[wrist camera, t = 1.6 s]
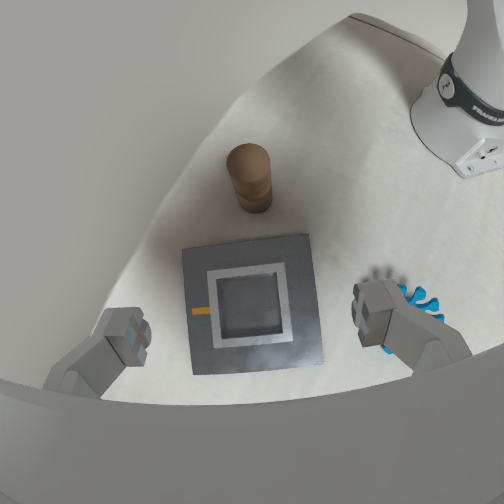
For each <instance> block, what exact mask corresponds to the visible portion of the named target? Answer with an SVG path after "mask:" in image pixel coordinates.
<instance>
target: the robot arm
mask: <svg viewBox="0 0 504 504" xmlns="http://www.w3.org/2000/svg"><path fill="white" fill-rule="evenodd" d="M467 5H468V14H467V21H466V25H465V28H464V31H463V34H462V36H461V38H460V41H459V43H458V45H457V47H456V49H455V51H454V52H452V53H451V54H450V55H449V56H448V57H447V59H446V60H445V63H444V65H443V66H442V68H441V71H440V72H439V74H438V75H437V76H436V78H435V79H434V80H433V81H432V83H431V84H430V85H429V86H426V87H425V88H424V89H423V91H422V95H421V97H420V98H419V99H418V100H417V101H416V102H415V103H414V104H413V106H412V108H411V119H412V123H413V126H414V128H415V130H416V132H417V134H418V136H419V137H420V139H421V140H422V141H423V143H424V144H425V145H426V146H427V147H428V148H429V149H430V150H431V151H432V152H433V153H434V154H435V155H437V156H438V157H439V158H441V159H442V160H444V161H446V162H447V163H449V164H450V165H451V166H452V167H453V168H454V170H455V171H456V172H457V173H458V174H459V175H460V176H461V177H462V178H469V177H473V176H476V175H479V174H483V173H486V172H489V171H493V170H496V169H499V168H503V167H504V0H467ZM468 169H469V170H468ZM353 294H354V296H355V299H354V300H353V301H352V317H353V321H354V324H355V326H356V327H358V328H359V331H358V336H359V339H360V342H361V344H362V347H369V346H375V345H380V344H384V346H385V347H387V348H388V349H389V350H390V351H391V352H392V353H394V354H395V355H396V356H397V357H398V358H399V359H400V360H402V361H403V362H404V363H405V364H406V365H407V366H409V367H410V368H411V369H412V370H413V371H414V372H413V374H412V376H411V377H407V378H403V379H400V380H396V381H392V382H388V383H384V384H379V385H375V386H371V387H366V388H361V389H356V390H351V391H346V392H341V393H335V394H329V395H323V396H317V397H310V398H303V399H295V400H286V401H277V402H266V403H254V404H237V405H158V404H142V403H129V402H119V401H110V400H102V399H101V398H100V397H101V396H102V395H103V394H104V392H105V391H106V390H107V389H108V388H109V387H110V385H111V384H112V383H113V382H114V381H115V380H116V378H117V377H118V376H119V375H120V374H121V373H122V371H123V370H124V369H125V368H126V367H141V366H144V364H145V360H146V357H147V352H146V350H145V349H146V348H147V347H148V346H149V345H150V342H151V329H150V326H149V324H148V322H147V321H145V320H144V319H142V318H143V315H144V314H143V312H142V310H141V308H139V307H125V308H107V309H105V310H104V312H103V314H102V316H101V318H100V320H99V322H98V324H97V326H96V328H95V330H94V333H93V335H92V337H88V338H86V339H85V340H84V341H83V342H82V343H80V344H79V345H78V346H77V347H75V348H74V349H73V350H72V351H71V352H69V353H68V354H67V355H66V356H65V357H63V358H62V359H61V360H60V361H59V362H57V363H56V364H55V365H54V366H53V367H52V368H51V370H50V372H49V374H48V376H47V379H46V381H45V383H44V386H43V388H42V389H38V388H34V387H29V386H26V385H22V384H18V383H14V382H10V381H7V380H3V379H0V504H504V343H502V344H500V345H498V346H496V347H493V348H491V349H489V350H486V351H484V352H481V353H479V354H476V355H474V356H473V355H472V353H471V351H470V349H469V348H468V346H467V344H466V342H465V340H464V339H463V337H462V335H461V334H460V332H458V331H457V330H455V329H453V328H452V327H450V326H448V325H446V324H445V323H443V322H441V321H440V320H438V319H436V318H434V317H433V316H431V315H429V314H427V313H426V312H424V311H422V310H421V309H419V308H417V307H415V306H414V305H411V306H409V304H408V302H407V300H406V299H405V297H404V295H403V294H402V292H401V290H400V288H399V287H398V285H397V283H396V282H395V280H394V279H393V278H387V279H382V280H377V281H371V282H365V283H359V284H355V285H354V289H353Z"/></svg>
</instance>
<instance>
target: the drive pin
mask: <svg viewBox="0 0 504 504" xmlns="http://www.w3.org/2000/svg"><path fill="white" fill-rule="evenodd" d="M227 168H228V171H229V174H230V177H231V180H232V182H233V185H234V188H235V191H236V194H237V197H238V199H239V202H240V205H241V206H242V208H243V209H244V210H245V211H247V212H249V213H255V214H256V213H261V212H263V211H265V210H266V209H268V208H269V206H270V205H271V202H272V186H271V172H270V158H269V155H268V153H267V151H266V150H265V149H264V148H262V147H261V146H259V145H256V144H251V143H248V144H242V145H239V146H237V147H236V148H234V149H233V150H232V151H231V152H230V154H229V155H228V158H227Z"/></svg>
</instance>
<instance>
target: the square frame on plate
mask: <svg viewBox="0 0 504 504" xmlns="http://www.w3.org/2000/svg"><path fill="white" fill-rule="evenodd" d="M182 254H183V272H184V287H185V300H186V312H187V324H188V334H189V344H190V353H191V362H192V370H193V375H210V374H230V373H245V372H258V371H269V370H279V369H288V368H296V367H304V366H311V365H318V364H324V359H323V348H322V338H321V328H320V319H319V310H318V301H317V293H316V285H315V278H314V270H313V263H312V256H311V249H310V242H309V235H308V234H303V235H294V236H286V237H277V238H269V239H261V240H252V241H244V242H236V243H228V244H220V245H212V246H204V247H196V248H188V249H182Z"/></svg>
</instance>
